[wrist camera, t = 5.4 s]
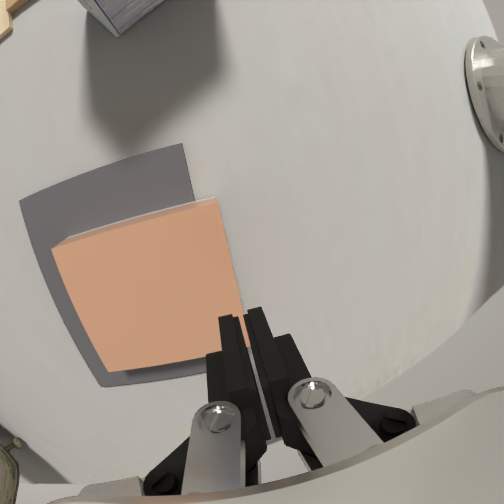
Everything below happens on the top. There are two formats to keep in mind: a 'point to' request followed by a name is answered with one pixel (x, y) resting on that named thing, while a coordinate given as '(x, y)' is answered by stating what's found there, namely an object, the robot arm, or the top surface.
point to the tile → (153, 285)
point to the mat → (100, 214)
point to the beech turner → (8, 14)
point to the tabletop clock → (9, 473)
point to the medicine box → (119, 12)
